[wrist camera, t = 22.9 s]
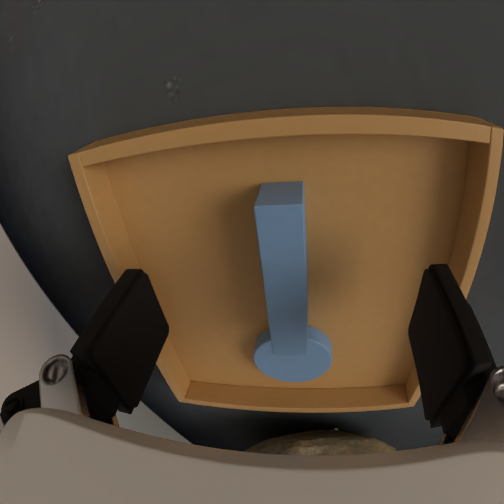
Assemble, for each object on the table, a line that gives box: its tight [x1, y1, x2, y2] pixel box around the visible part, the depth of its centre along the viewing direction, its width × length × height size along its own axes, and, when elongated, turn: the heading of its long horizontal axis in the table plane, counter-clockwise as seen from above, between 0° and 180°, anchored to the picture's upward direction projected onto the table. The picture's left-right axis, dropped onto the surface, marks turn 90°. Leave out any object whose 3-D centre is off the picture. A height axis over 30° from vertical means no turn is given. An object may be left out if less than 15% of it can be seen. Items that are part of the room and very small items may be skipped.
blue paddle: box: [253, 181, 332, 382], centre depth 13 cm, size 11×4×2 cm, turn 7°
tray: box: [68, 107, 504, 413], centre depth 13 cm, size 15×16×2 cm
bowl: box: [244, 428, 397, 456], centre depth 20 cm, size 14×18×10 cm
